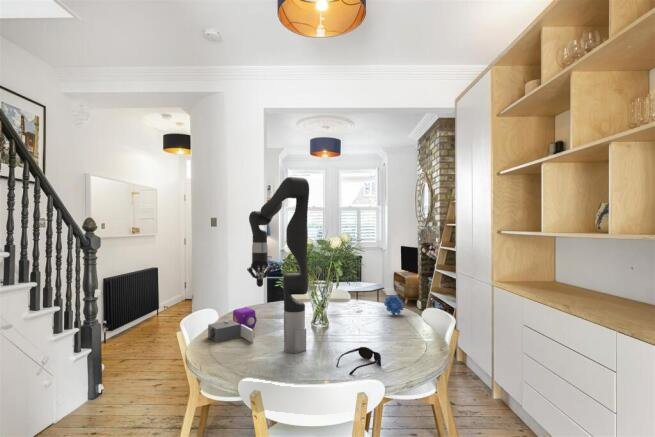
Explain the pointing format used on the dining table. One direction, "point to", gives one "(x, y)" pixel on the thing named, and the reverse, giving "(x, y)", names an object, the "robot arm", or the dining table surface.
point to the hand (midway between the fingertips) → (259, 286)
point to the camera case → (224, 330)
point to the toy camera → (245, 317)
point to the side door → (247, 333)
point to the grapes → (394, 304)
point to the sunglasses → (365, 354)
